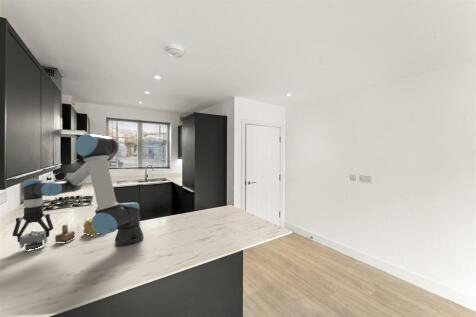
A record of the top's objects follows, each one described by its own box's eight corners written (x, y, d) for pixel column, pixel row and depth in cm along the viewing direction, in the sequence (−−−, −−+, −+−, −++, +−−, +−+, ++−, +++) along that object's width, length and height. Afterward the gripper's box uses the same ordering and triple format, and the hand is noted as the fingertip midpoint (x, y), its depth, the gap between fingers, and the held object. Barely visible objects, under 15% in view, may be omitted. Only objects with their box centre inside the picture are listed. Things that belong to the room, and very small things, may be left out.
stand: (74, 239, 125) (74, 223, 125) (66, 243, 118) (65, 226, 118) (64, 239, 124) (64, 223, 125) (55, 243, 118) (55, 227, 118)
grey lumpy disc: (47, 236, 118) (47, 230, 118) (42, 240, 111) (42, 234, 111) (26, 239, 114) (26, 233, 114) (19, 245, 106) (19, 238, 106)
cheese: (83, 234, 132) (82, 220, 132) (100, 229, 142) (100, 215, 142) (91, 237, 127) (90, 221, 127) (108, 231, 137) (108, 217, 137)
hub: (46, 245, 116) (45, 228, 116) (34, 251, 109) (33, 233, 109) (34, 246, 115) (33, 229, 116) (21, 251, 108) (21, 233, 109)
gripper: (59, 202, 121) (60, 238, 121) (9, 207, 110) (9, 247, 110) (56, 204, 115) (57, 242, 115) (2, 210, 104) (3, 252, 103)
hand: (34, 245), depth 112 cm, fingers closed on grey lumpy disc, 9 cm apart
